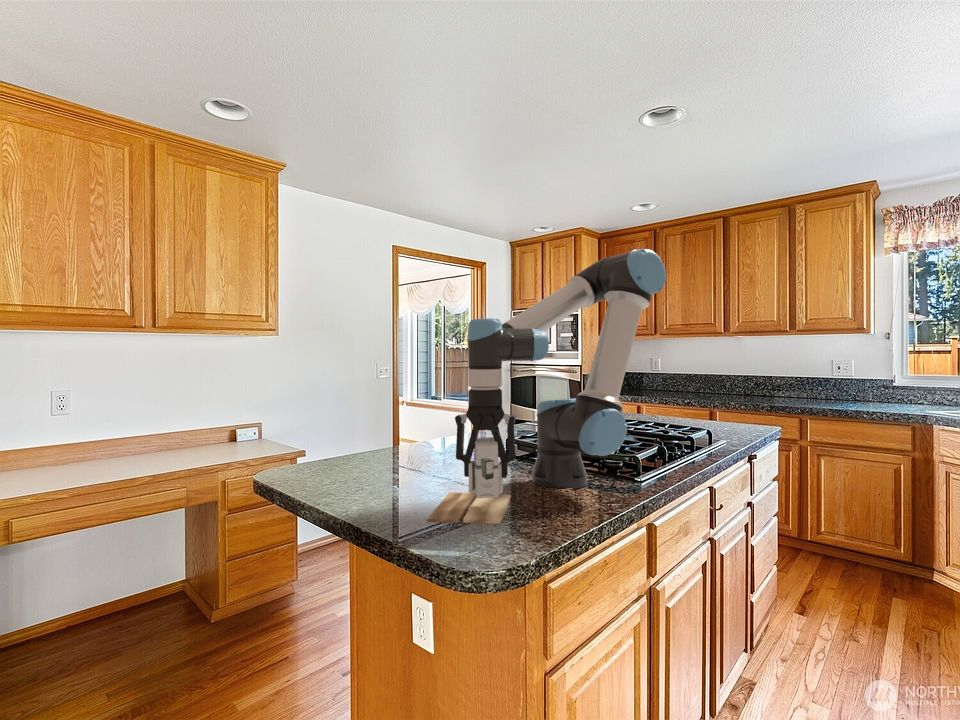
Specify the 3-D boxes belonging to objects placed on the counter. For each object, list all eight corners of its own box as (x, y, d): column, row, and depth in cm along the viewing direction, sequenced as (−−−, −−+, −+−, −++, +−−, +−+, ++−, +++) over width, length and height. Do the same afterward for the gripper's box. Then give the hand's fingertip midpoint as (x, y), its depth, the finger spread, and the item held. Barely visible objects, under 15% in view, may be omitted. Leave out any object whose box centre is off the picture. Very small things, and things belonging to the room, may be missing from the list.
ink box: (473, 487, 116) (473, 437, 116) (495, 487, 117) (494, 436, 117) (476, 498, 108) (475, 443, 108) (499, 497, 108) (498, 443, 108)
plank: (510, 499, 123) (510, 494, 123) (500, 526, 104) (500, 520, 104) (478, 498, 124) (478, 493, 124) (463, 524, 106) (462, 518, 106)
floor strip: (476, 498, 125) (476, 493, 125) (459, 526, 105) (459, 519, 105) (449, 497, 126) (449, 492, 126) (427, 524, 107) (427, 518, 107)
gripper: (528, 387, 114) (529, 488, 114) (447, 386, 117) (448, 485, 118) (525, 389, 107) (526, 498, 107) (439, 389, 110) (440, 494, 110)
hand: (486, 491), depth 112 cm, fingers closed on ink box, 6 cm apart
